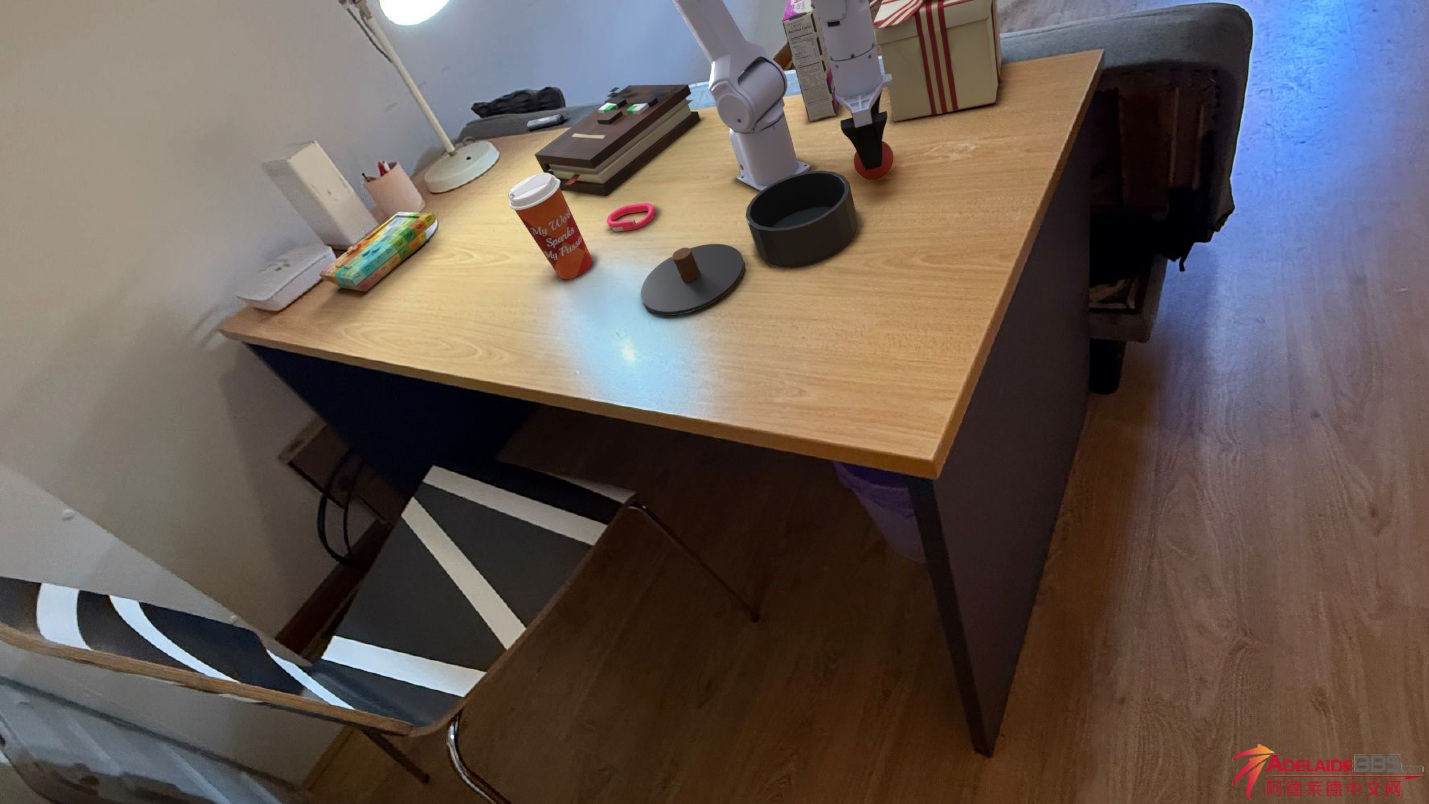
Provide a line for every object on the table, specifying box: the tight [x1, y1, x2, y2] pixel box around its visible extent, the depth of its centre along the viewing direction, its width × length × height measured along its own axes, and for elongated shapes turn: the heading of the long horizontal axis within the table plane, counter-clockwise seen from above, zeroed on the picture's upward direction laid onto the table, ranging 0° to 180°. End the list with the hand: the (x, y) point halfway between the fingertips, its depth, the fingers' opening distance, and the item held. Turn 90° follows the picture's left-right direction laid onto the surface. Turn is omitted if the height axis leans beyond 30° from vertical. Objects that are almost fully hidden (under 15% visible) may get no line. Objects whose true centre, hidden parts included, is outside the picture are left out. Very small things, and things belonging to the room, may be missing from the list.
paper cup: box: [507, 172, 593, 280], centre depth 103 cm, size 8×8×14 cm
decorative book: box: [533, 84, 702, 197], centre depth 130 cm, size 19×8×30 cm
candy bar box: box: [781, 0, 840, 123], centre depth 114 cm, size 11×5×16 cm, turn 168°
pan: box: [745, 169, 859, 269], centre depth 91 cm, size 13×13×6 cm
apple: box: [853, 140, 895, 181], centre depth 95 cm, size 5×5×6 cm
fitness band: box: [606, 202, 656, 233], centre depth 112 cm, size 8×6×2 cm
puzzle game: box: [318, 211, 437, 293], centre depth 133 cm, size 12×5×20 cm
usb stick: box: [526, 113, 565, 131], centre depth 160 cm, size 10×3×2 cm, turn 70°
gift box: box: [869, 0, 1003, 123], centre depth 102 cm, size 17×18×17 cm
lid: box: [640, 243, 745, 316], centre depth 92 cm, size 14×14×5 cm
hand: (872, 153), depth 95 cm, fingers open, 7 cm apart
